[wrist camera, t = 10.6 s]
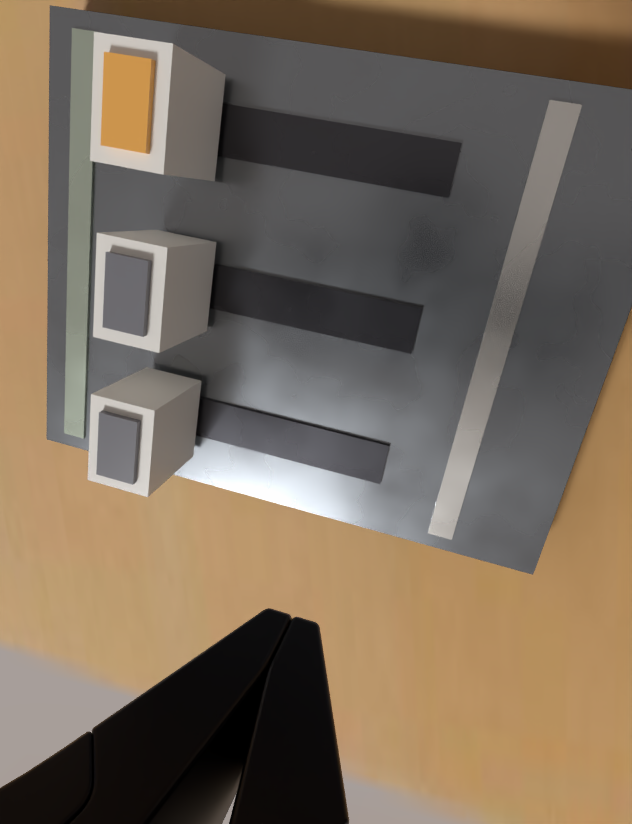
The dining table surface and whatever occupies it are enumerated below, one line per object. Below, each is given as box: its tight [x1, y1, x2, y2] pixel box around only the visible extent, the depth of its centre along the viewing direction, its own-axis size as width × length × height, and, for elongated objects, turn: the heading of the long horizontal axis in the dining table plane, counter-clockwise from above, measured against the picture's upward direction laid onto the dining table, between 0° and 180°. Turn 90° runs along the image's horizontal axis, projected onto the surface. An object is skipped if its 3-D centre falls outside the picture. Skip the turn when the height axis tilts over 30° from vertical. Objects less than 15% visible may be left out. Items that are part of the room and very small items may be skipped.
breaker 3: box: [88, 367, 201, 497], centre depth 18 cm, size 2×3×3 cm
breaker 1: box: [90, 32, 226, 181], centre depth 15 cm, size 2×3×3 cm
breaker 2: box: [93, 230, 216, 353], centre depth 17 cm, size 2×3×3 cm
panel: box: [47, 6, 632, 574], centre depth 19 cm, size 18×14×2 cm
